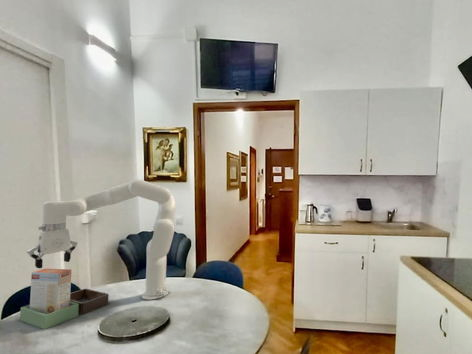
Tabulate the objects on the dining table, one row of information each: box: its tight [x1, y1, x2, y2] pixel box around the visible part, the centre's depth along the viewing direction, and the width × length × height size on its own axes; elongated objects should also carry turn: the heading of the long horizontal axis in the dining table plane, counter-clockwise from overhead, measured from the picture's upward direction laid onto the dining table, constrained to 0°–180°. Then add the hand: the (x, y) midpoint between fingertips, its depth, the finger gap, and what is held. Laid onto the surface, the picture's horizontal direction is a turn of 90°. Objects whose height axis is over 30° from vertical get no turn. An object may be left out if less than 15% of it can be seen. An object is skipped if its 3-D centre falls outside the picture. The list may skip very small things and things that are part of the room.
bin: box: [19, 302, 79, 330], centre depth 114 cm, size 20×12×6 cm, turn 70°
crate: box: [70, 288, 110, 315], centre depth 126 cm, size 20×12×5 cm, turn 70°
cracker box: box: [29, 268, 72, 315], centre depth 114 cm, size 14×6×21 cm, turn 84°
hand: (53, 264), depth 115 cm, fingers open, 9 cm apart
